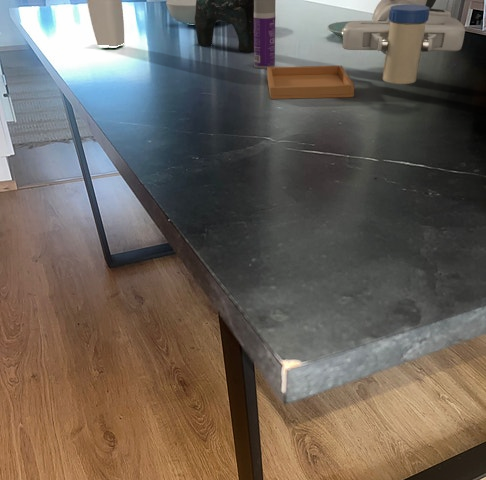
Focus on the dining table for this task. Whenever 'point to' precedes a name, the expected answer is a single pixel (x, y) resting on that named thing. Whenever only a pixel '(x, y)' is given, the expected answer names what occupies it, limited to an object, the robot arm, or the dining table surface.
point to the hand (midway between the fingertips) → (405, 45)
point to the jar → (403, 52)
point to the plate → (337, 28)
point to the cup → (107, 21)
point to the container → (264, 33)
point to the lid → (409, 13)
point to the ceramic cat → (226, 20)
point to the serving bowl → (183, 10)
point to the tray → (309, 82)
